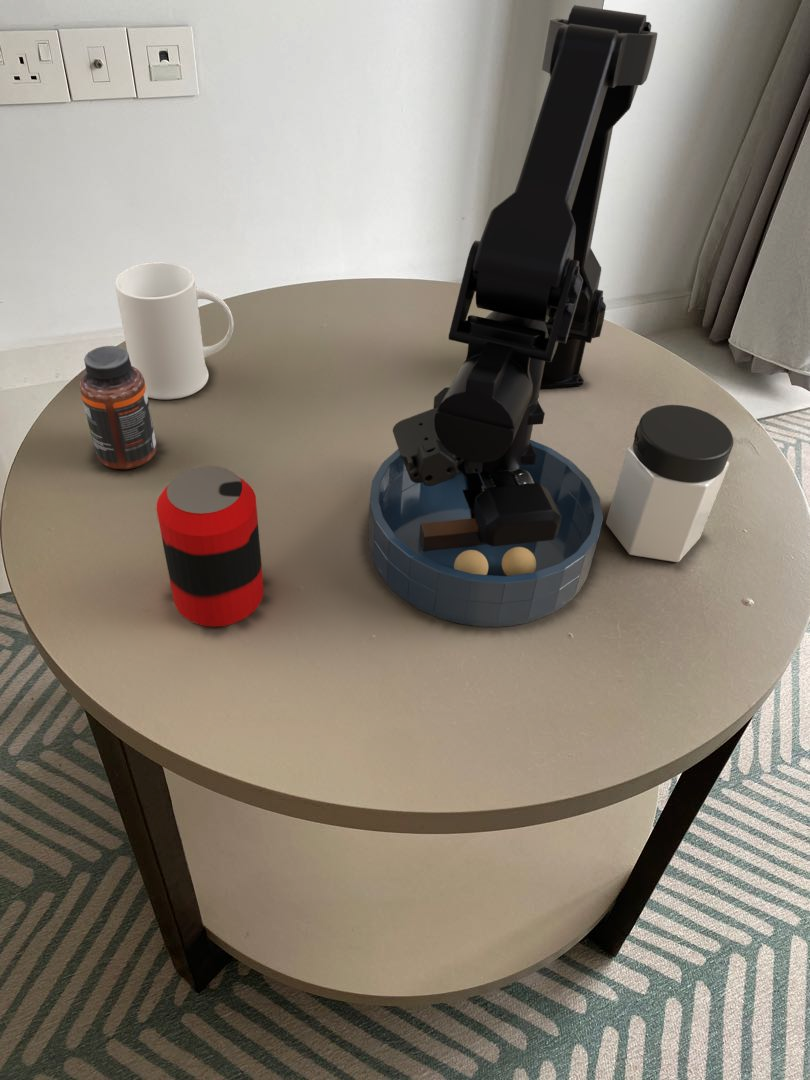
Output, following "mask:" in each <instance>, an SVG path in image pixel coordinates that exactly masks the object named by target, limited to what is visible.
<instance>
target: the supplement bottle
mask: <svg viewBox="0 0 810 1080" xmlns="http://www.w3.org/2000/svg"><path fill="white" fill-rule="evenodd" d="M83 360H84V366H85V373H84V374H83V375H82V376H81V379H80V382H79V390H80V391H79V392H80V395H81V400H82V404H83V409H84V412H85V416H86V419H87V423H88V428H89V432H90V436H91V439H92V444H93V447H94V452H95V454H96V457H97V459H98V461H99V462H100V463H101V464H102V465H104V466H105V467H108V468H111V469H115V470H130V469H134V468H135V469H136V468H138V467H140V466H143V465H145V464H147V463H148V462H150V461H151V460H152V459H153V457H154V456H155V454H156V452H157V448H158V447H157V439H156V435H155V429H154V424H153V423H154V422H153V418H152V413H151V412H152V411H151V407H150V402H149V401H150V400H149V397H148V396H147V391H146V386H145V381H144V378H143V375H142V374H141V372H140V371H139V370H138V369H136V368H135V367H133V366H131V362H130V359H129V354H128V352H127V349H126V348H123V347H120V346H116V345H103V346H99V347H95V348H94V349H91V350H89V351H88V352H87V353H86V354H85V356H84V359H83Z"/></svg>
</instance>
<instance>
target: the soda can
mask: <svg viewBox="0 0 810 1080" xmlns="http://www.w3.org/2000/svg"><path fill="white" fill-rule="evenodd" d="M257 505H258V504H257V496H256V493H255V490H254V489H253V487H252V486H251V485H250V484H249V483H248V482H246V481H245V479H243V478H241V477H240V476H239V475H238V474H236V473H235V472H234V471H233V470H230V469H228V468H226V467H223V466H218V465H197V466H194V467H191V468H187V469H185V470H183V471H181V472H179V473H178V474H176V475H175V476H174V477H173V478H172V479H171V480H170V481H169V483H168V484H167V486H166V487H165V488H164V489H163V490H162V491H161V493H160V494H159V496H158V498H157V501H156V508H155V509H156V515H157V519H158V524H159V530H160V535H161V540H162V541H161V542H162V547H163V552H164V555H165V556H164V557H165V562H166V567H167V571H168V577H169V578H168V579H169V583H170V587H171V588H170V589H171V593H172V599H173V603H174V606H175V608H176V609H177V611H178V613H179V614H180V615H181V616H182V617H183V618H185V619H186V620H188V621H190V622H192V623H195V624H196V625H199V626H200V625H201V626H206V627H215V628H216V627H217V628H218V627H225V626H230V625H233V624H236V623H238V622H240V621H242V620H244V619H246V618H247V617H249V616H250V615H251V614H252V613H254V612H255V611H256V610H257V608H258V607H259V606H260V604H261V602H262V600H263V598H264V592H265V591H264V577H263V566H262V565H263V564H262V555H261V543H260V532H259V530H260V529H259V519H258V507H257Z"/></svg>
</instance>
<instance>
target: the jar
mask: <svg viewBox="0 0 810 1080" xmlns="http://www.w3.org/2000/svg"><path fill="white" fill-rule="evenodd" d="M633 437H634V438H633V442H632V443H631V444H630V445H628V447H627V448H626V451H625V454H624V457H623V461H622V465H621V467H620V472H619V475H618V479H617V482H616V485H615V490H614V492H613V497H612V500H611V503H610V506H609V510H608V513H607V517H606V520H605V525H606V526H607V527H608V529H609V530H610V531H611V533H612V534H613V535H614V536H615V538H616V539H617V540H618V542H619V543H620V544H621V546H622V547H623V549H624V550H625V551H626V553H627V554H628V555H630V556H634V557H643V558H648V559H654V560H660V561H666V562H671V563H679V562H680V561H681V560H682V559H683V558H684V557H685V555H687V553H688V552H689V551H690V550H691V549H692V548H693V547H694V545H696V544H697V543H698V541H699V540H700V538H701V537H702V534H703V531H704V530H705V527H706V524H707V521H708V519H709V517H710V514H711V511H712V510H713V506H714V504H715V501H716V498H717V496H718V493H719V491H720V489H721V486H722V484H723V481H724V478H725V476H726V473H727V471H728V469H729V466H730V462H729V461H728V460H729V457H730V454H731V452H732V450H733V447H734V436H733V434H732V431H731V430H730V428H729V427H728V426H727V425H726V424H725V423H724V422H723V421H722V420H721V419H720V418H719V417H717V416H715V415H713V414H711V413H709V412H707V411H705V410H702V409H699V408H696V407H694V406H693V407H692V406H688V405H681V404H664V405H659V406H655V407H652V408H651V409H649V410H647V411H646V412H645V413H643V414H642V416H641V417H640V419H639V422H638V423H637V426H636V428H635V431H634V435H633Z"/></svg>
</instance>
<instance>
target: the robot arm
mask: <svg viewBox="0 0 810 1080" xmlns="http://www.w3.org/2000/svg"><path fill="white" fill-rule="evenodd" d="M651 30H652V24H651V22H650V21H647V15H646V14H642V13H641V14H640V13H633V12H626V11H619V10H612V9H604V8H597V7H592V6H591V7H590V6H585V5H584V6H582V5H575V4H574V5H573V6H572V8H571V10H570V12H569V14H568V18H567V19H566V18H565V19H564V18H554V19H549V24H548V29H547V35H546V42H545V47H544V52H543V58H542V64H541V71H543V72H545V73H547V74H549V77H550V78H549V82H548V85H547V88H546V91H545V94H544V97H543V101H542V104H541V107H540V110H539V114H538V117H537V121H536V123H535V126H534V130H533V133H532V137H531V140H530V143H529V145H528V149H527V152H526V155H525V159H524V162H523V166H522V169H521V172H520V175H519V178H518V181H517V184H516V187H515V190H514V192H512V193H511V194H510V195H509V196H508V197H506V198H505V199H503V200H502V201H501V202H500V203H499V204H498V205H496V206H494V208H493V209H492V210H491V211H490V213H489V216H488V219H487V222H486V224H485V227H484V230H483V232H482V235H481V238H480V240H474V241H473V243H472V245H471V247H470V248H469V249H470V250H469V252H468V255H467V259H466V263H465V267H464V271H463V276H462V280H461V284H460V287H459V293H458V295H457V300H456V304H455V308H454V312H453V316H452V320H451V325H450V328H449V333H448V340H449V341H453V342H458V343H463V344H467V354H466V358H465V359H464V361H463V363H462V365H461V366H460V368H459V370H458V371H457V374H456V376H455V377H454V379H453V380H452V382H451V384H450V386H449V387H448V386H447V387H444V388H443V389H442V390H440V391H438V393H437V394H436V395H435V396H434V397H433V406H432V407H433V408H431V409H428V410H426V411H423V412H420V413H418V414H414V415H412V416H410V417H407V418H404V419H401V420H400V421H398V422H397V423H395V425H394V426H393V428H392V434H393V437H394V439H395V443H396V446H397V449H399V452H400V455H401V457H402V460H403V462H404V465H405V467H406V470H407V472H408V475H409V477H410V479H411V481H412V482H414V483H423V484H424V485H426V486H434V485H437V484H439V483H442V482H445V481H447V480H450V479H453V478H454V477H455V476H456V475H457V473H458V470H459V471H460V472H462V473H463V474H464V479H465V485H466V490H462V491H463V494H464V496H465V499H466V501H467V504H468V506H469V510H470V516H471V519H472V518H475V521H476V524H477V526H478V537H479V541H480V542H481V543H486V544H488V545H490V546H492V547H493V546H502V545H512V544H521V543H530V542H539V541H548V540H554V539H555V537H556V536H557V535H558V532H559V528H560V524H561V519H562V517H561V515H560V513H559V511H558V509H557V507H556V505H555V503H554V501H553V499H552V497H551V495H550V493H549V491H548V490H547V489H546V488H545V487H544V486H543V485H542V484H540V483H534V481H533V479H532V477H531V475H530V473H529V472H527V471H525V470H521V469H519V466H520V465H531V464H535V460H536V453H535V451H534V449H533V447H532V445H531V443H530V440H531V437H532V433H533V427H534V425H535V426H536V425H543V424H544V420H545V415H546V414H545V412H544V410H543V408H542V405H541V403H539V402H540V401H539V396H540V391H541V389H551V388H554V389H555V388H566V387H579V386H583V385H584V382H585V380H584V378H583V377H582V375H581V374H580V370H581V366H582V361H583V357H584V354H585V353H584V352H585V348H586V345H587V344H591V343H592V340H593V339H595V338H596V339H597V338H600V336H601V334H602V329H603V325H604V321H605V315H606V310H607V305H606V303H605V301H604V290H602V289H599V285H600V280H601V275H602V266H601V265H600V262H599V261H598V259H597V257H596V256H595V253H594V252H593V250H592V241H593V236H594V231H595V226H596V221H597V220H596V219H597V216H598V209H599V205H600V199H601V194H602V190H603V189H602V188H603V183H604V178H605V173H606V167H607V161H608V157H609V151H610V147H611V140H612V135H613V129H614V127H615V125H616V124H617V123H618V122H619V121H620V120H621V119H622V118H623V117H624V116H625V115H626V113H627V112H628V111H630V109H631V107H632V104H633V101H634V98H635V97H636V93H637V90H638V87H639V86H642V85H643V84H644V83H645V82H646V81H647V80H648V77H649V73H650V70H651V66H652V62H653V58H654V54H655V49H656V44H657V39H658V32H655V31H651ZM474 296H475V305H476V308H477V309H481V310H486V311H489V312H490V313H488V315H486V316H485V317H483V316H476V315H473V314H469V311H470V308H471V305H472V302H473V299H474ZM468 314H469V315H468ZM457 469H458V470H457ZM511 474H512V475H511Z"/></svg>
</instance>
